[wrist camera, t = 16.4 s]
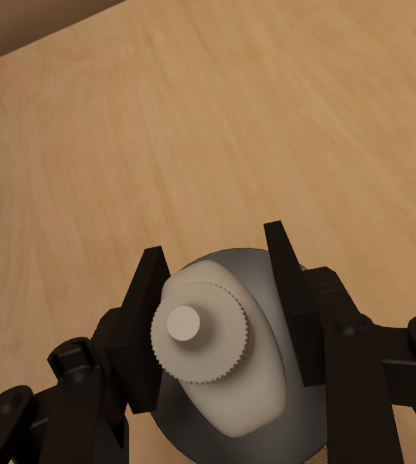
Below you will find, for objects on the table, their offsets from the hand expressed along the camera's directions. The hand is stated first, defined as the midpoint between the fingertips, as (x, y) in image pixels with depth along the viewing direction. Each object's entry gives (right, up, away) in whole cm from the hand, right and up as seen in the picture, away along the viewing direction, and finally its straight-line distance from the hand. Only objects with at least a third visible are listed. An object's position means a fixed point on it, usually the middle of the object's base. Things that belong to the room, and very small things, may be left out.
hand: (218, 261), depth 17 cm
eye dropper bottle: (+1, -5, +2) cm, 5 cm away
